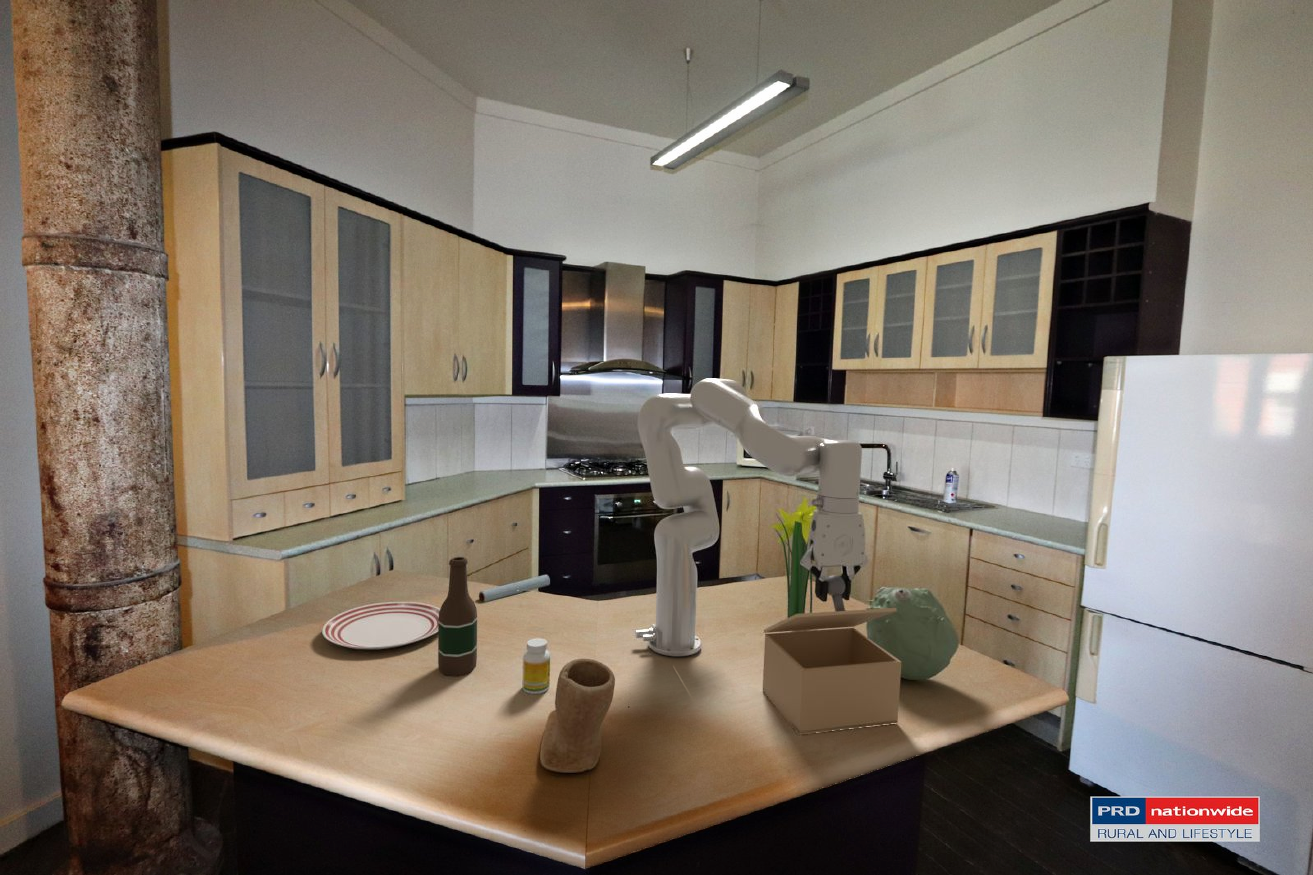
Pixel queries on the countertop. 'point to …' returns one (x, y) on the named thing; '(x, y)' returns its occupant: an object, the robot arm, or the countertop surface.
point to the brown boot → (577, 717)
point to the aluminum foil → (514, 588)
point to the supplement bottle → (536, 667)
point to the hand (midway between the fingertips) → (832, 597)
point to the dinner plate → (382, 625)
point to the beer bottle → (457, 625)
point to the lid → (830, 613)
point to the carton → (831, 680)
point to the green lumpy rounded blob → (913, 631)
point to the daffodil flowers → (796, 555)
